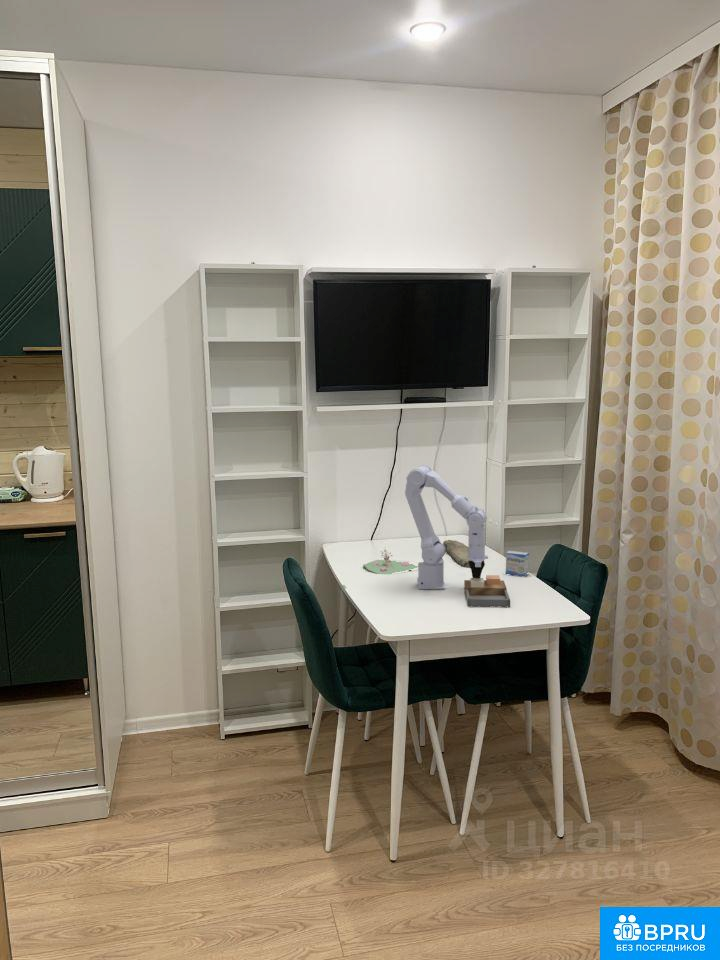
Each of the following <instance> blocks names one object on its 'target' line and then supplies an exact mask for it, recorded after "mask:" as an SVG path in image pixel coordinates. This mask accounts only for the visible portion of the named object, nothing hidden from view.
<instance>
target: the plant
mask: <svg viewBox="0 0 720 960" xmlns="http://www.w3.org/2000/svg"><path fill="white" fill-rule="evenodd" d="M380 557H381V558H383V559H375V560H372V561H369V562H367V564H366V563H364V564H363V567H364V568H365V569H366V570H368V571H369V572H371V573H373V574H378V575H393V574H392V573H395V572H400V571H401V572H402V571H406V570H409V569H414V568H417V567H418V566H415V565H413V564H409V563H408V562H409V561H404V562H403V563H402V562H396V561H397V560H393V561H391V560H390V557H393V554H391V552H388V551H387V550H386V548H384V551H383V550H381V556H380Z"/></svg>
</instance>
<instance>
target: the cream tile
mask: <svg viewBox="0 0 720 960" xmlns="http://www.w3.org/2000/svg"><path fill="white" fill-rule="evenodd" d="M469 580H470V585H471V587H484V580H485V579H484V577H480V578H472V577H470V578H469Z"/></svg>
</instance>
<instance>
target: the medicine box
mask: <svg viewBox="0 0 720 960" xmlns="http://www.w3.org/2000/svg"><path fill="white" fill-rule="evenodd" d="M529 567H530V552H526V551H525V552H523V551H518V550H516V551H515V550H508V551H507V552H506V553H505V575H506V574H511V575H510V576H514V575H518V576H517V577H522V576H526V575H527V576H528V575H529V574H527V573H529V572H530V571H529V570H530V569H529ZM527 576H526V577H527Z"/></svg>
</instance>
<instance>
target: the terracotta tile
mask: <svg viewBox="0 0 720 960" xmlns="http://www.w3.org/2000/svg"><path fill="white" fill-rule="evenodd" d="M485 578H486V579H485V580H486V582H487V584H500V580H501V577H500V575H499V574H498V575H496V574H488V575H487V574H486V577H485Z"/></svg>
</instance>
